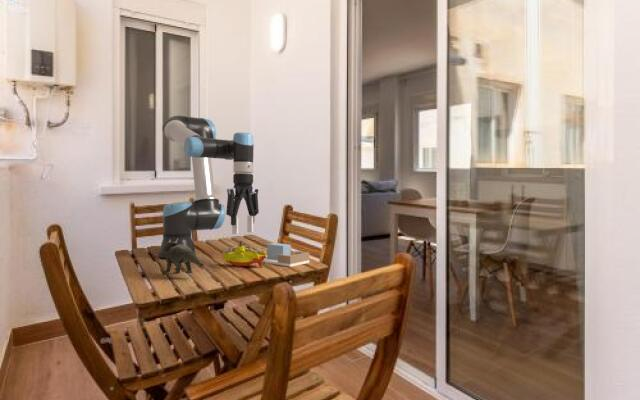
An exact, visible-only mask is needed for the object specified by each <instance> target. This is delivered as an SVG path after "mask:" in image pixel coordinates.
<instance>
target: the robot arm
mask: <svg viewBox="0 0 640 400" xmlns="http://www.w3.org/2000/svg"><path fill="white" fill-rule="evenodd" d="M215 126H216V125H215V124H214V123H213V121H212V120H210V119H207V118H204V117H194V116H193V117H192V116H184V115H174V116H171V117H168V118H167V119H166V120H165V121H164V122H163V124H162V126H161V127H162V129H161V130H162V133H163V136H164V137H165V138H166V139H168V140H169V141H171V142H176V143H178V144H179V145H180V146H182V147H183V152H184V154H185V155H186V156H187V157H191V163H192V164H191V165H192V174H193V182H194V183H193V184H194V193H195V199H193V201H192V202H191V201H180V202H174V203H173V202H172V203H168V204H165V205H164V206H163V208H162V215H161V216H162V240H161V243H160V247H159V249H158V257H159V258H162V259H163V258H164V259H166V255H167V253H168V251H167V252H164V251H163V250H162V249H163V248H162V247H163V246H164V244H166V243H168V242H169V240H170V241H171V242H175V241H176V240H177V238H178V241H177V244H179V245H180V244H182V245H185V246H187V247H189V248H190V249H191V250H192V252H193V253H194V255H195V256H196V251H197V250H196V247H195V244H194V241H193V239H192V231H203V230H204V231H206V230H207V231H208V230H210V231H212V230H218V229H220V228H221V227H222V226H223V224H224V222H225V218H226V216H229V217H230V225H231V227H232V229H231V234H233V235H239V216H237V215H238V212H239V209H240V206H241V201H242V200H244V201H245V204H246V208H247V212H248V215H247V218H246V219H247V220H246V223H247V224H246V226H247V227H246V228H247V229H246V232H247V233H254V224H255V217H256V216H257V215H258V214H259V213H260V210H259V196H258V195H259V189H258V188H253V184H254V175H253V173H254V149H255V148H254V147H255V146H254V145H255V143H254V135H253V134H252V133H251V132H235V133H234V134H233V138H232V140H229V139H219V138H218V139H217V138H216V136H217V130H216V127H215ZM212 159H219V160H226V161H227V160H228V161H229V160H230V161H232V160H233V161H232V162H233V163H232V164H233V165H232V172H233V177H232V179H233V180H232V182H233V184H234V185H233V188H227V190H226V193H227V202H226V208H225V207H224V205H223V204H222V203H220V199H219V198H218V197H217V196H216V192H215V184H214V175H213V167H212V165H213V164H212Z"/></svg>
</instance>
